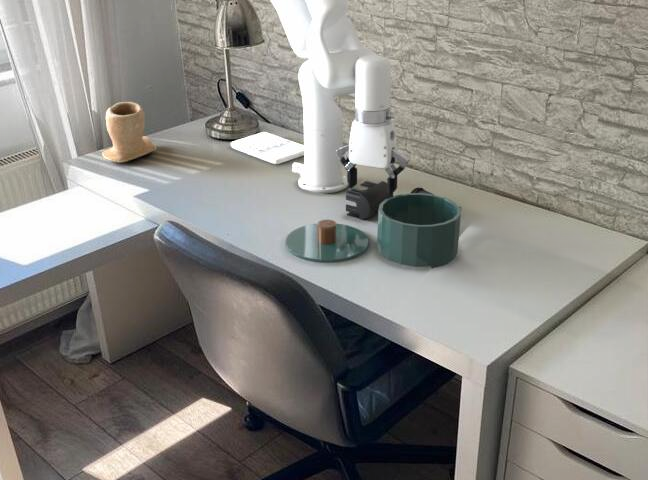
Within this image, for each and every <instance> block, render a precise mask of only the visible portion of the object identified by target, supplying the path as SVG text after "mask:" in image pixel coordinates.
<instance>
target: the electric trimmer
mask: <svg viewBox="0 0 648 480" xmlns="http://www.w3.org/2000/svg"><path fill="white" fill-rule="evenodd" d="M410 193H424V194H432V195H435V193H432V192H430V191H428V190H426V189H424V188H423V187H415V188H413V189H412V190H411V192H410ZM458 206H459V205H458ZM459 207H460V208H461V209H462V207H461V206H459Z"/></svg>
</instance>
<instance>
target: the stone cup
mask: <svg viewBox="0 0 648 480" xmlns="http://www.w3.org/2000/svg"><path fill="white" fill-rule="evenodd" d="M145 124H146V116H145V112H144V109H143V107H142V106H141V105H140V104H139V103H137V102H134V101H119V102H117V103H115V104H113V105H112V106H109V107H108V109H106V112H105V126H106V130H107V133H108V135H109V137H110V139H111V142H112V147H109V148H107V149H105V150H103V152H102V153H101V156H102V157H103V158H104V159H106V161H110V162H113V163H126V162H130V161H133V160H135V159H138V158H140V157H143V156H145V155H148V154H150V153H152V152H155V151H156V150H157V147H156V145H155V144H154V143H153V142H152V141H151V139H150V137H148V136H145V135H144V128H145Z"/></svg>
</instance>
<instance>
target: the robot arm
mask: <svg viewBox="0 0 648 480" xmlns="http://www.w3.org/2000/svg"><path fill="white" fill-rule="evenodd" d="M269 1H270V2H271V4H272V5H273V7H274V8H275V10H276V12H277V15H278V16H279V19H280V22H281V24H282V27H283V29H284V32H285V35H286V37H287V40H288V42H289V44H290V47H291V49H292V51H293V53H294V54H295V55H296V56H297V57H299V58H301V59H308V60H306V61H304V62H303V63H302V64H301V65H300V67H299V70H298V84H299V88H300V94H301V101H302V108H303V109H302V110H303V111H302V113H303V145H304V155H303V156H304V157H303V159H304V161H303V163H301V162H296V161H294V162H293V163H292V165H291V167H292V168H291V173H294V174H299V175H300V177H299V178H298V186H299V188H301V189H302V190H306V191H310V192H316V193H319V194H320V193H321V194H331V193H337V192H341V191H344V189H346V188H348V189H353V188H354V187H356V186H357V185H358V167H356V166H362V167H368V168H374V169H380V170H385V172H386V174H387V175H388V177H387V178H386V183H387V194H388V195H391V194H392V193H393V194H394V193H395V192H396V191H397V188H398V175H400V174H401V173H402V172H403V171H404V170H406V167H407V166H408V164H409V162H410V158H409V157H407V156H406V155H405V154H403V153H402V152H400V151H399V150H398V147H397V134H396V127H395V123H394V121H393V120H395V119H396V112H393V111H392V108H391V88H392V87H391V81H392V78H391V77H392V63H391V61H390V59H389V58H388V57H386V56H383V55H378V54H377V53H376V52H375V51H373V50H372V49H369V48H363V45H362V41H361V40H360V38H359V35H358V33H357V31H356V28H355V26H354V24H353V22H352V21H351V20H350V18H349V17H348V16H347V15H346V14H347V12H348V10H349V1H348V0H269ZM352 94H353V95H354V96H355V97H354V99H355V100H354V102H355V104H354V106H355V108H354V112H355V113H354V114H355V115H354V116H355V117H354V119H353V120H352V123H351V129H350V135H349V142H348V143H349V144H346V145H344V141H343V140H344V116H343V112H342V110H341V108H340V106H339V105H338V104H337V103H336V101H335V98H337V97H340V96H347V95H352ZM347 152H348V156H347V154H346V153H347ZM397 161H398V162H399V165H398V166H397V165H396V162H397ZM343 167H344V170H345V172H346V175H345V174H343Z"/></svg>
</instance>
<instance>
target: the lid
mask: <svg viewBox="0 0 648 480" xmlns="http://www.w3.org/2000/svg"><path fill="white" fill-rule="evenodd" d="M284 241H285V248H286V249H287V251H288V253H290V254H292V255H293V256H295V257H298V258H299V259H302V260H306V261H311V262H317V263H338V262H343V261H348V260H352V259H354V258H357V257H359V256H360V255H362V254H364V252H366V251H367V249H368V247H369V238H368V236H367V234H366V233H364V232H363V231H362V230H361V229H358V228H357V227H353V226H351V225H349V224H342V223H337V222H336V221H335V220H333V219H322V220H319V221H318V222H317V223H311V224H307V225H306V224H305V225H303V226H300V227H298V228H296V229H293V231H290V232H289V233H288V234H287V236H286V238H285V240H284Z"/></svg>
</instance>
